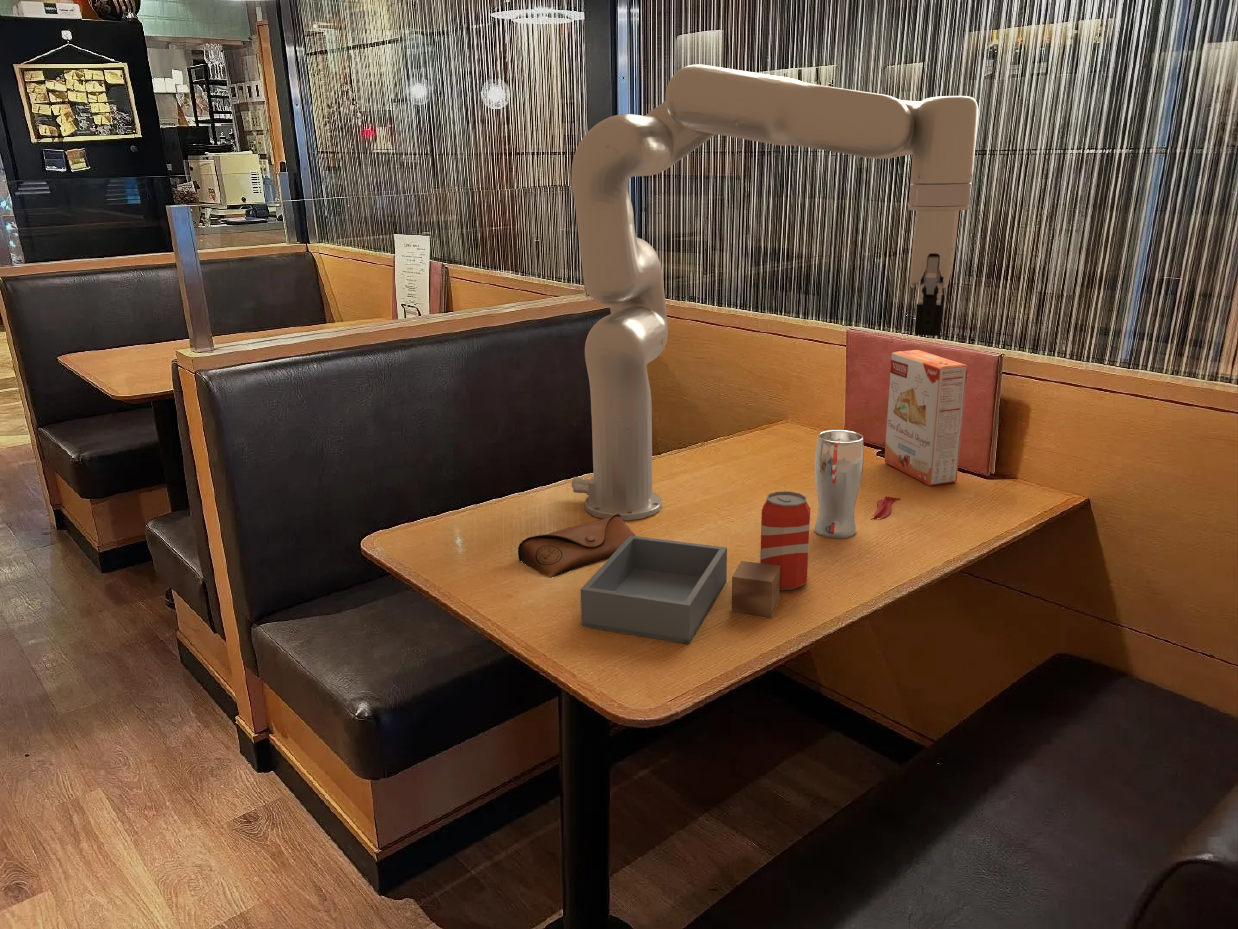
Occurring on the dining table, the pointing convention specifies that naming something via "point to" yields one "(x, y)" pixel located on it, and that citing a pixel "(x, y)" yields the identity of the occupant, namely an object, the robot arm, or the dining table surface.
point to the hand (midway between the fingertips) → (928, 328)
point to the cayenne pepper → (884, 507)
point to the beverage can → (786, 536)
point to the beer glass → (837, 481)
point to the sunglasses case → (574, 546)
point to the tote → (655, 589)
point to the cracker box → (925, 416)
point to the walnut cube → (755, 589)
